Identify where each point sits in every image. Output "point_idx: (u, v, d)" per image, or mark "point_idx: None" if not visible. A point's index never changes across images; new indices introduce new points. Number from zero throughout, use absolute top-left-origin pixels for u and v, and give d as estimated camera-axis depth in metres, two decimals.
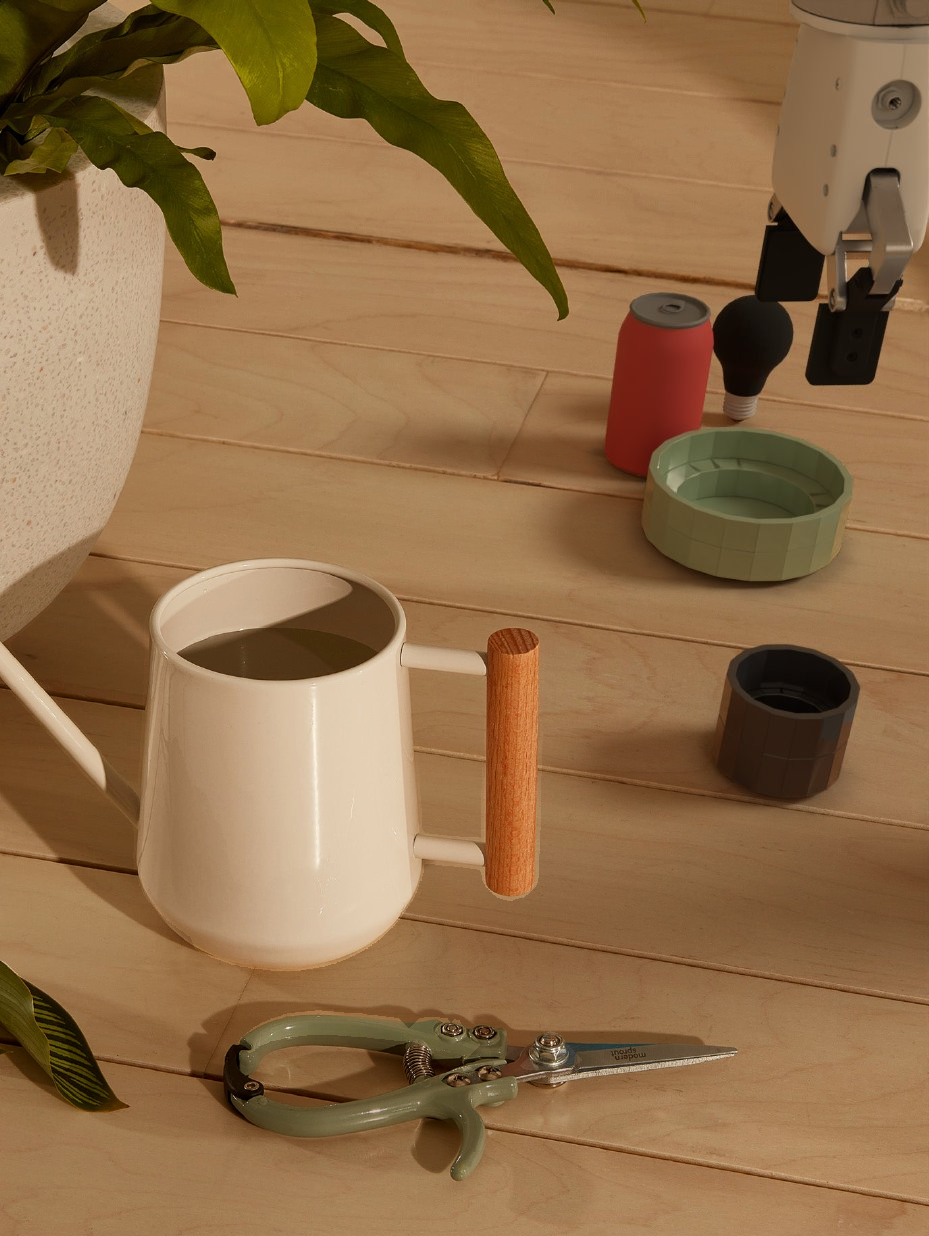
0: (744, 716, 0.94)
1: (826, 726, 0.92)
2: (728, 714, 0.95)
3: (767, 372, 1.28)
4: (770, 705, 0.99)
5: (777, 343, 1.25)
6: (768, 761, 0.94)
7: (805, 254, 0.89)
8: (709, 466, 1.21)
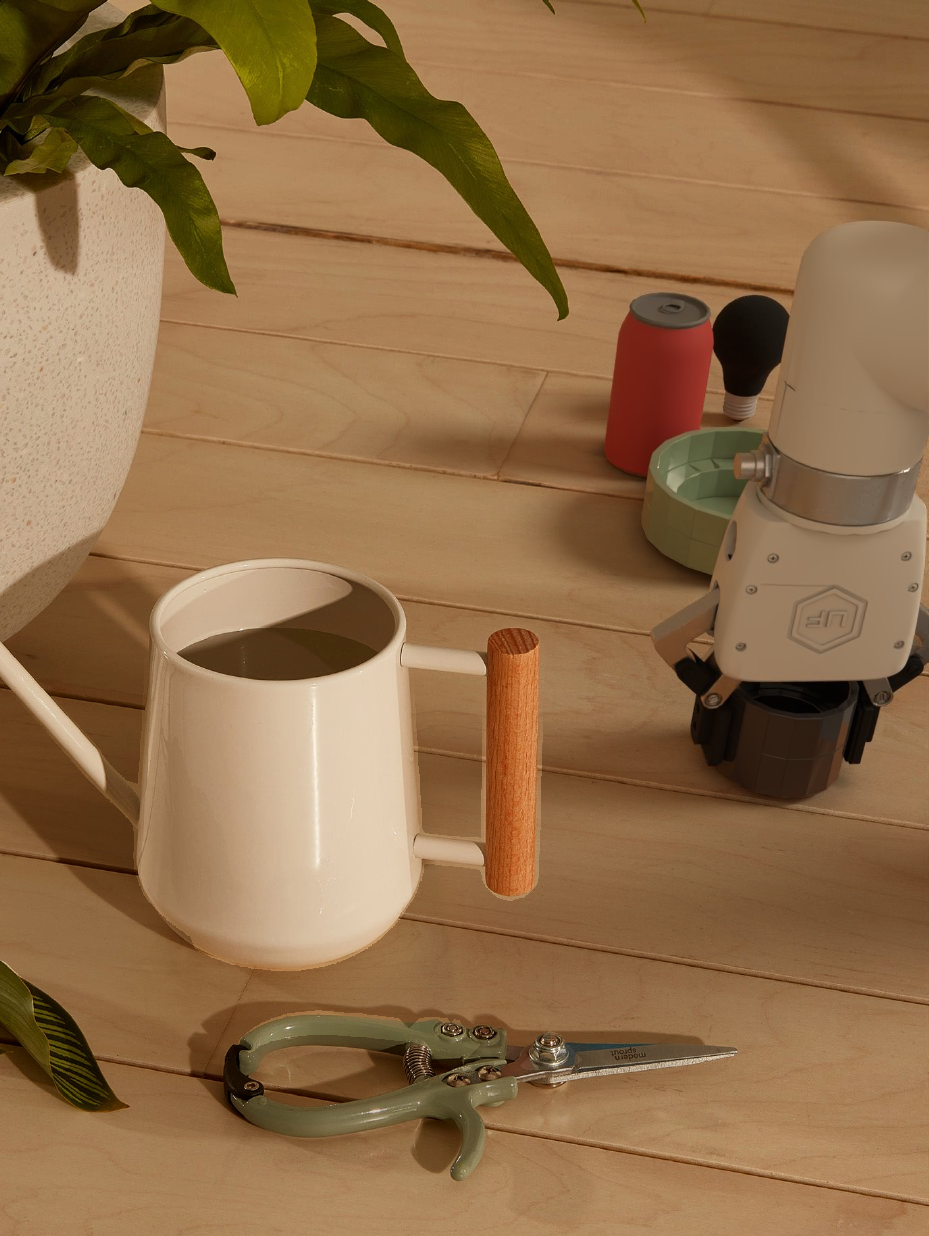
0: (743, 716, 0.94)
1: (825, 726, 0.92)
2: None
3: (767, 372, 1.28)
4: (769, 705, 0.99)
5: (777, 343, 1.25)
6: (767, 761, 0.94)
7: None
8: (709, 466, 1.21)
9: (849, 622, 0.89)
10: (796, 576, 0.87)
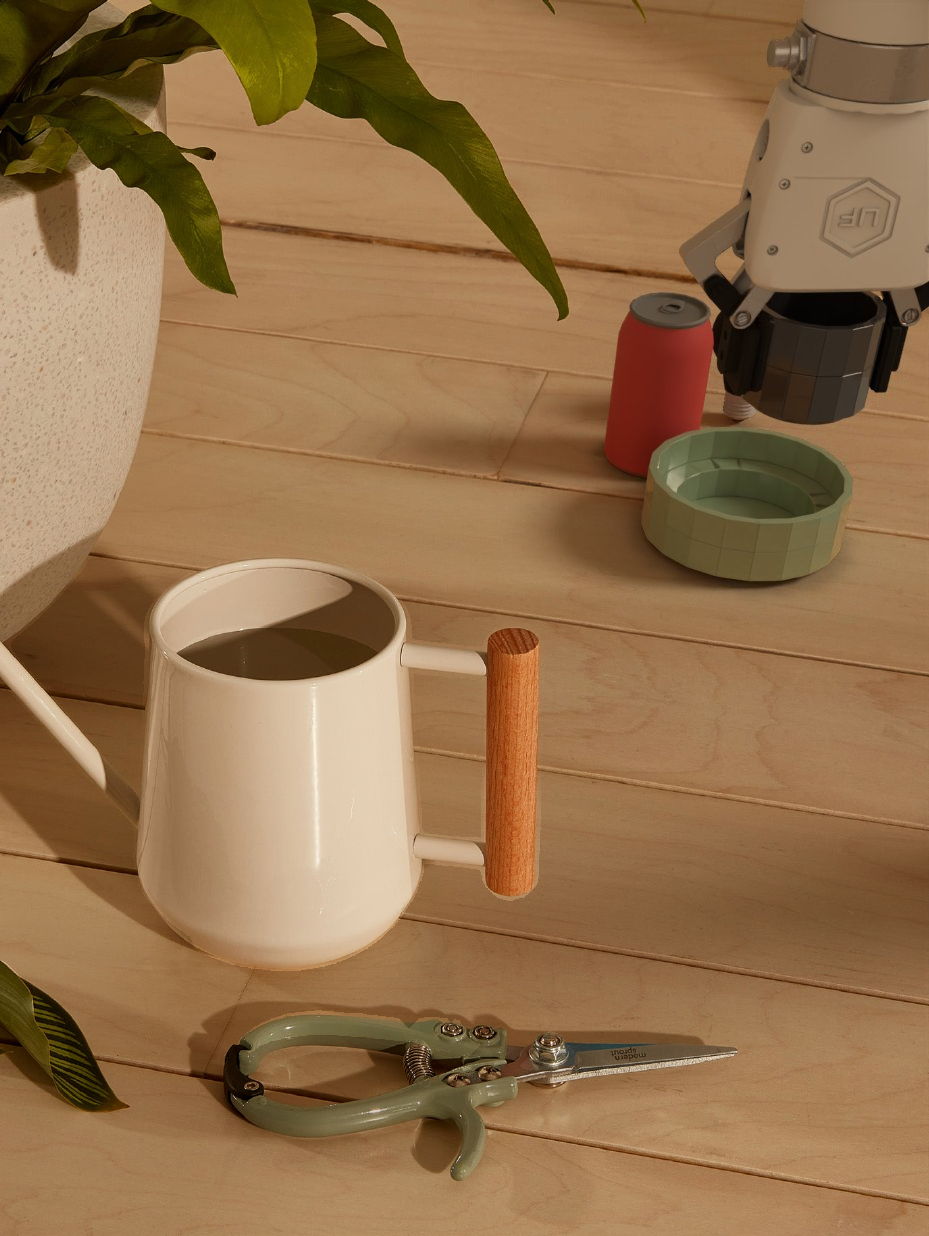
0: (772, 335, 0.93)
1: (855, 339, 0.92)
2: None
3: None
4: None
5: None
6: (796, 381, 0.94)
7: None
8: (709, 466, 1.21)
9: (881, 221, 0.89)
10: (830, 167, 0.87)
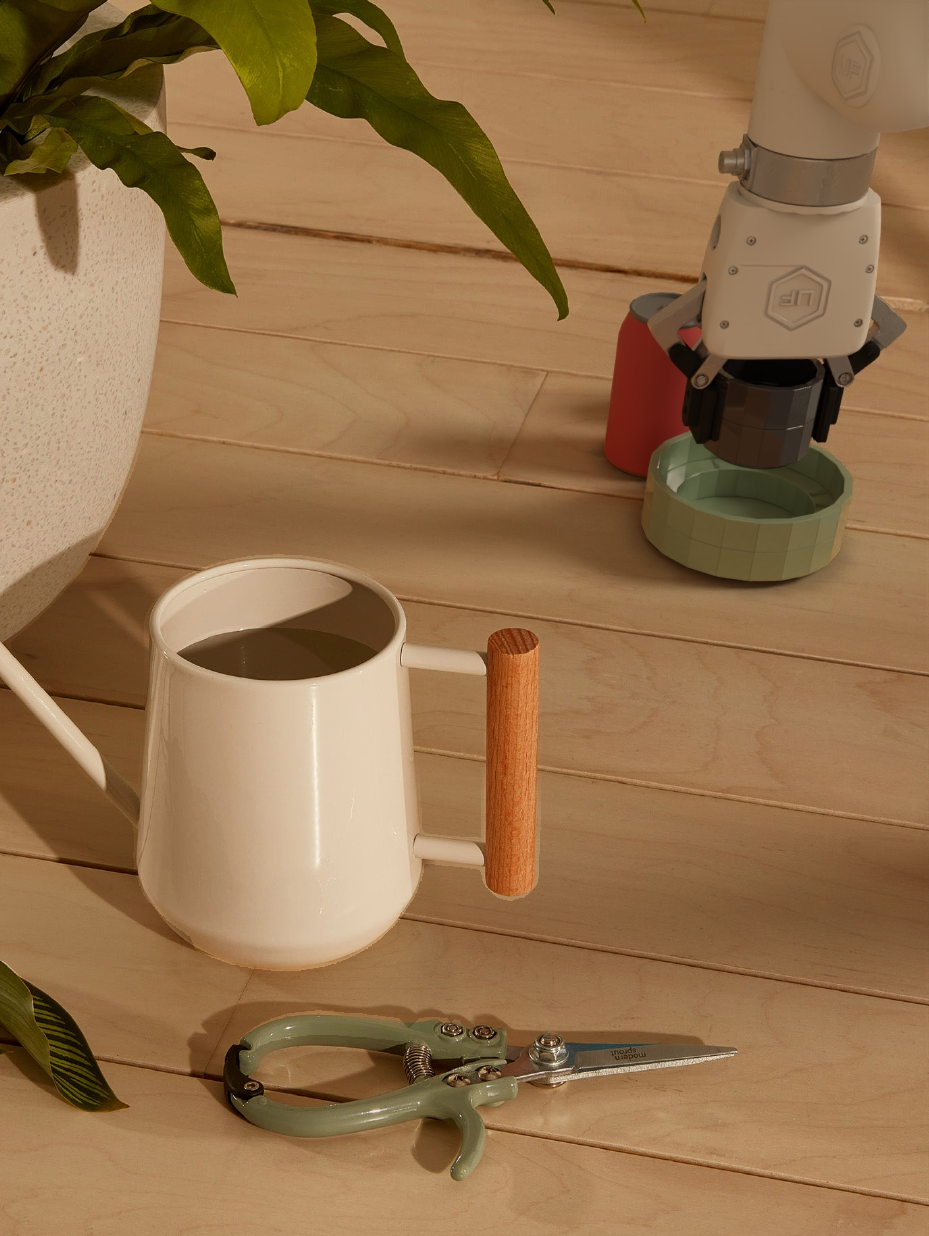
0: (726, 394, 1.10)
1: (796, 398, 1.09)
2: None
3: None
4: None
5: None
6: (747, 433, 1.10)
7: None
8: (709, 466, 1.21)
9: (816, 301, 1.05)
10: (771, 257, 1.04)
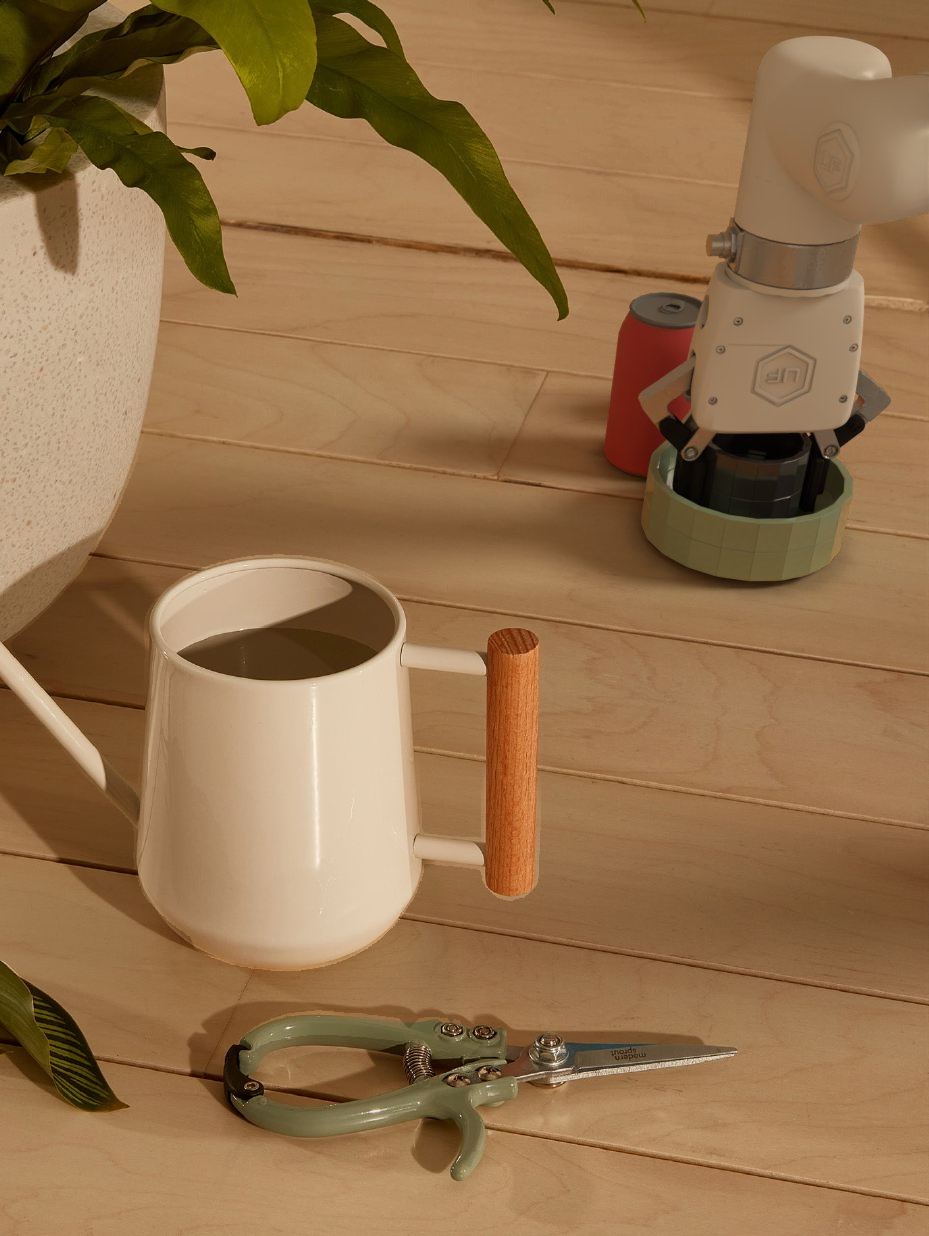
0: (715, 466, 1.13)
1: (783, 470, 1.12)
2: None
3: None
4: None
5: None
6: (735, 504, 1.13)
7: None
8: None
9: (801, 378, 1.08)
10: (757, 337, 1.07)
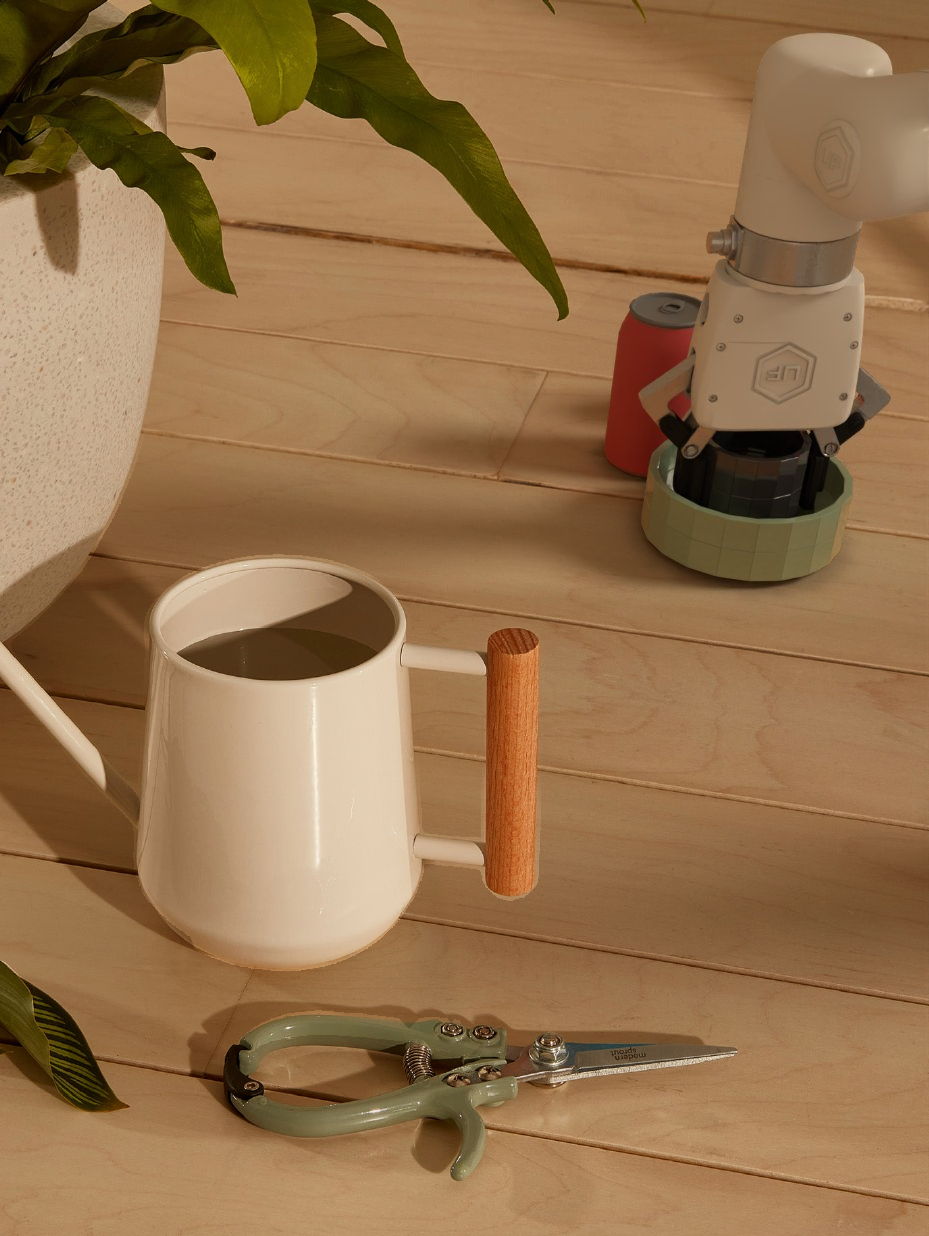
0: (715, 464, 1.13)
1: (783, 468, 1.11)
2: None
3: None
4: None
5: None
6: (735, 502, 1.13)
7: None
8: None
9: (801, 376, 1.08)
10: (757, 334, 1.07)
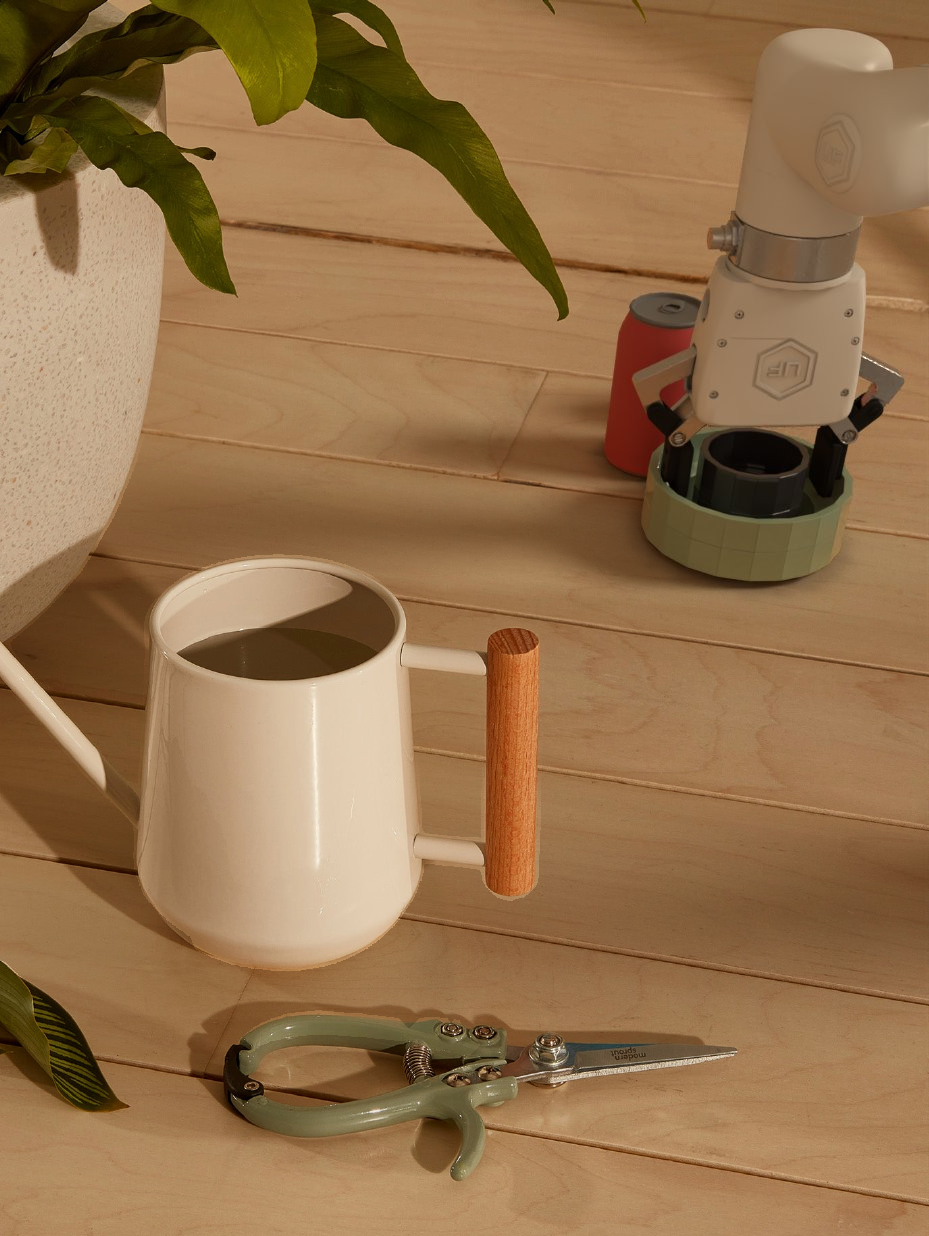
0: (714, 480, 1.14)
1: (781, 485, 1.12)
2: (701, 481, 1.15)
3: None
4: None
5: None
6: None
7: (823, 456, 1.14)
8: None
9: (803, 372, 1.08)
10: (758, 330, 1.06)
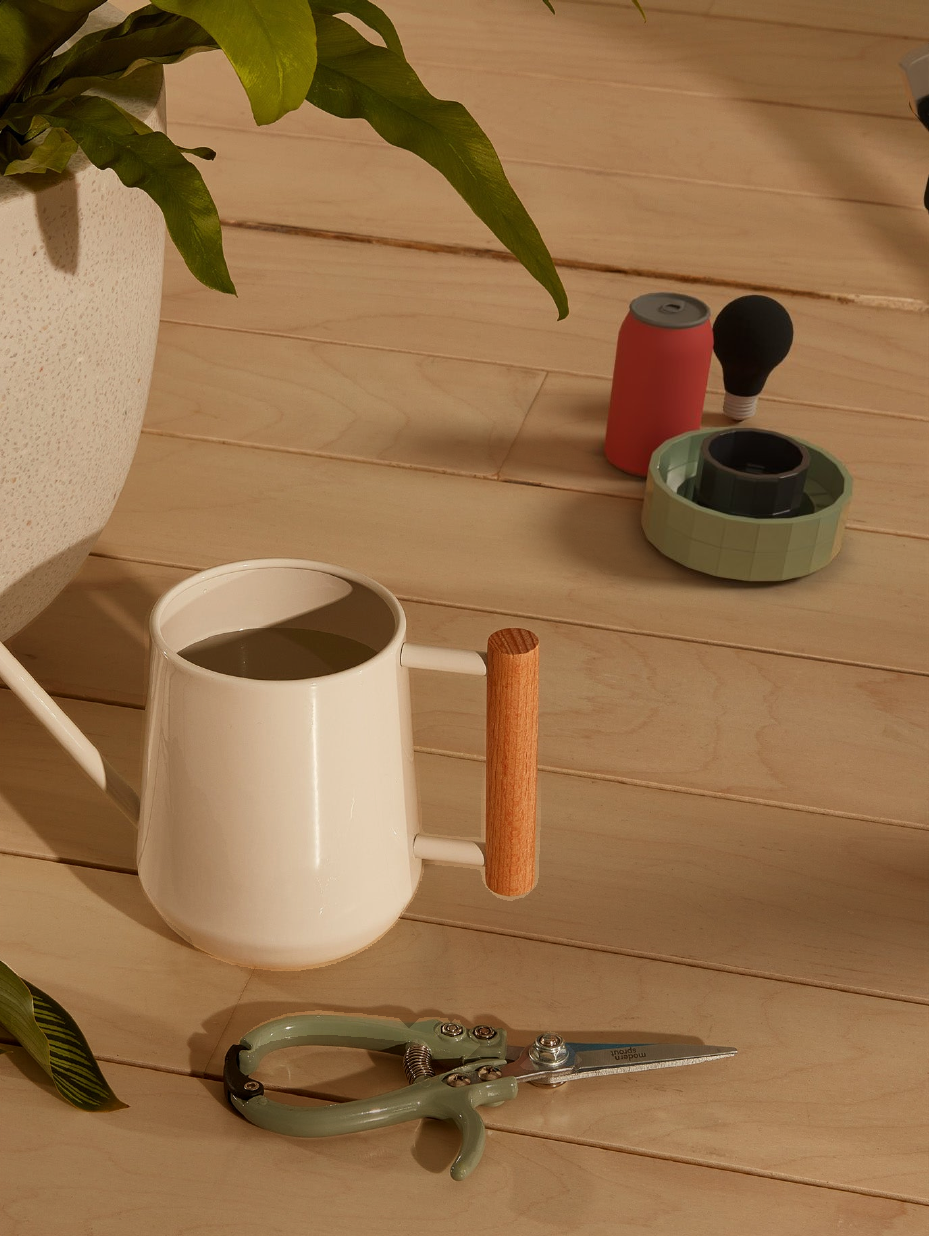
0: (714, 480, 1.14)
1: (781, 485, 1.12)
2: (701, 481, 1.15)
3: (767, 372, 1.28)
4: None
5: (777, 343, 1.25)
6: None
7: None
8: None
9: None
10: None
